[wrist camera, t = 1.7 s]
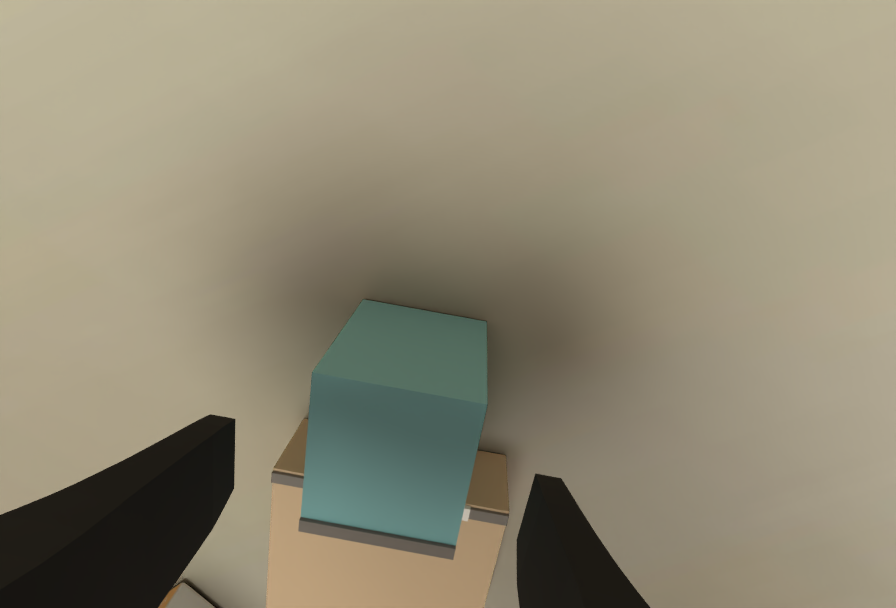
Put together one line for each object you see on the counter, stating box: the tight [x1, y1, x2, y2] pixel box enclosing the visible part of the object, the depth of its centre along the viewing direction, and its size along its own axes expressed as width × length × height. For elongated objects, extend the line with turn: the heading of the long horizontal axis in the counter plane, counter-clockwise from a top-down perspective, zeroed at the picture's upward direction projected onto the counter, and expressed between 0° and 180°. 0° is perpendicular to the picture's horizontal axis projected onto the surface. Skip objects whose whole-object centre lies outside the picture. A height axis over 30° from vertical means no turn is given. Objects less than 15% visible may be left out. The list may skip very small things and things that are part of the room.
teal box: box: [298, 299, 488, 560], centre depth 16 cm, size 4×5×6 cm
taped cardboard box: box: [266, 418, 509, 608], centre depth 19 cm, size 8×7×3 cm
